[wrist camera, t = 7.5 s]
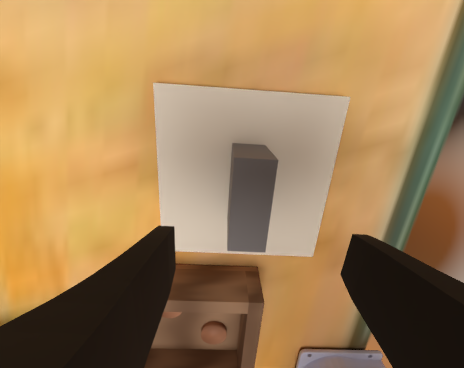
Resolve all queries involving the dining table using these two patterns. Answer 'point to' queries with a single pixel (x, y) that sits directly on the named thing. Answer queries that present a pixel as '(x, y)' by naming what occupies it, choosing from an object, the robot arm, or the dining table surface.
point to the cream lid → (245, 167)
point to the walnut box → (209, 319)
